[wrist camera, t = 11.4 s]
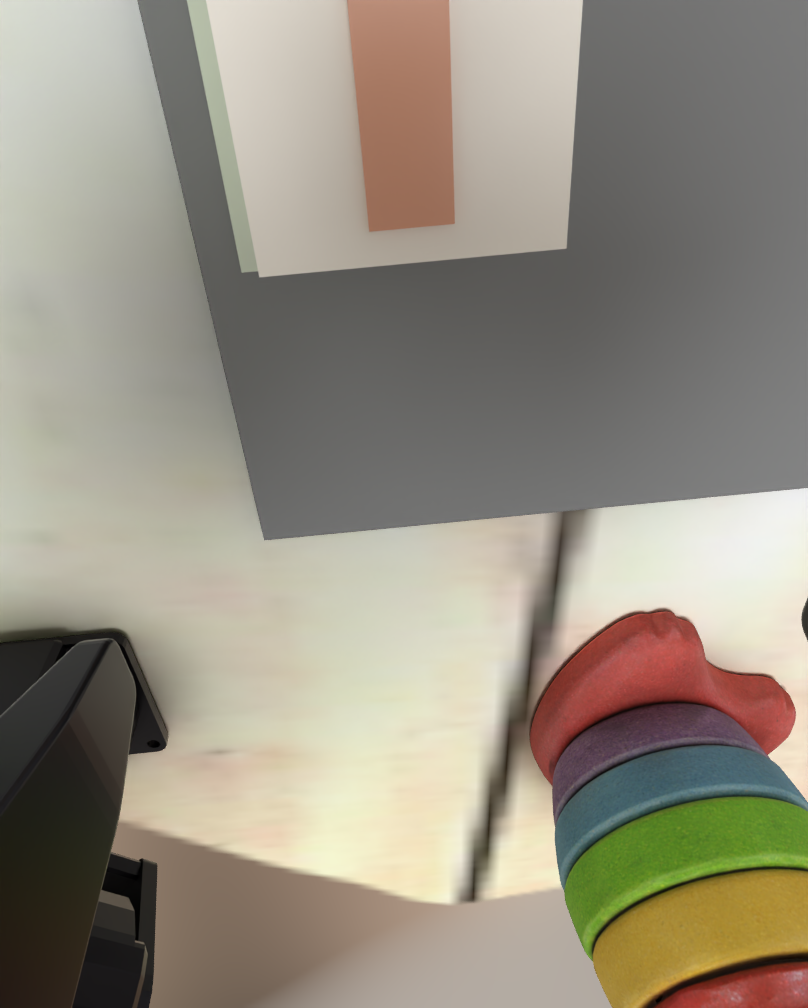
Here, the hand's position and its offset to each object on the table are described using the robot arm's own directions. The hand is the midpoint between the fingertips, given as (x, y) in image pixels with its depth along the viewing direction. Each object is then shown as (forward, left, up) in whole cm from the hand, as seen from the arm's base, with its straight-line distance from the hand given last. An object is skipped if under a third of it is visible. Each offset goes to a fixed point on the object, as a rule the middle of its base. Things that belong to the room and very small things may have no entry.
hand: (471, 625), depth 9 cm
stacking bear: (-19, -9, -12) cm, 24 cm away
